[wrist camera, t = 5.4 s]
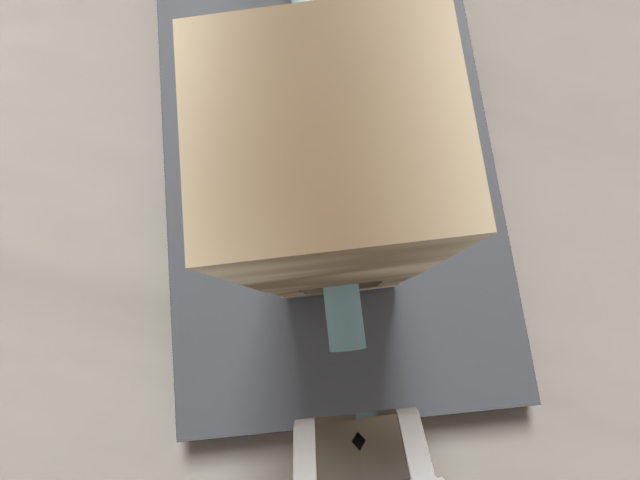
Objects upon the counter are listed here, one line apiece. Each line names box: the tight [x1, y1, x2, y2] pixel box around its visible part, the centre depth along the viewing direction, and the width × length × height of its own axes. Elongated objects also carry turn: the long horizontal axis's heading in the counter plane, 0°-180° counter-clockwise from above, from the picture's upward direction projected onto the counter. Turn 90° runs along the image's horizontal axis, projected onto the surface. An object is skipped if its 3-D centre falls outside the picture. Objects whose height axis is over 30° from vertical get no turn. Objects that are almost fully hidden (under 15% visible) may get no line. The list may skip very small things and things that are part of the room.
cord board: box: [157, 0, 541, 442], centre depth 16 cm, size 14×30×8 cm, turn 6°
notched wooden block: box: [172, 0, 497, 299], centre depth 12 cm, size 4×4×11 cm
